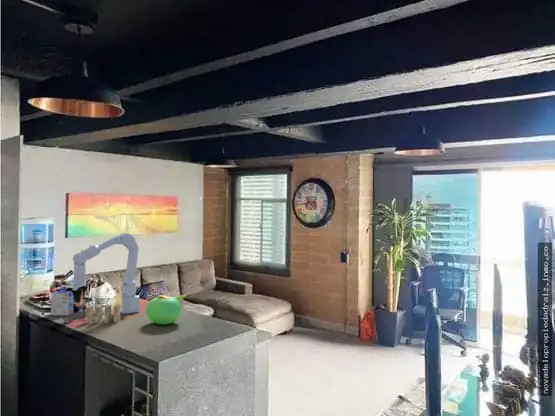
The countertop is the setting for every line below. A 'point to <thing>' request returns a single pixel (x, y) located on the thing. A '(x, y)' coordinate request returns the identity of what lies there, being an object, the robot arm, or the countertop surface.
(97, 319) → the domino
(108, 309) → the domino
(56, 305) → the ink cartridge box
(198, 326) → the countertop surface
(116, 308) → the domino
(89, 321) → the domino
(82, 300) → the domino
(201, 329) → the countertop surface
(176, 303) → the green teapot
